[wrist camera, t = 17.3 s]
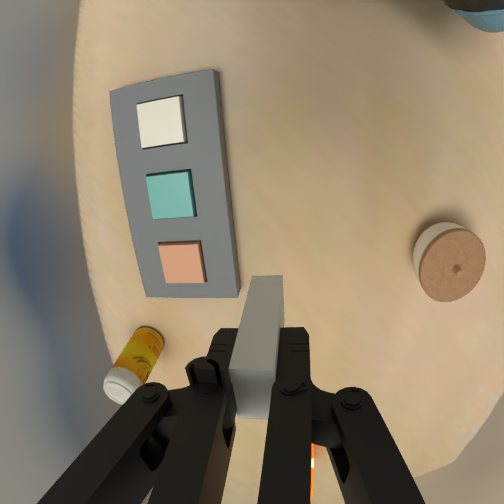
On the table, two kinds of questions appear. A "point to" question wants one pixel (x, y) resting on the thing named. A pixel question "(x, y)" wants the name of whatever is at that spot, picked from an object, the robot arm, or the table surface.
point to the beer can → (133, 365)
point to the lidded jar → (448, 261)
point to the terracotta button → (183, 261)
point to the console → (204, 182)
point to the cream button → (162, 122)
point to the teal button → (171, 194)
